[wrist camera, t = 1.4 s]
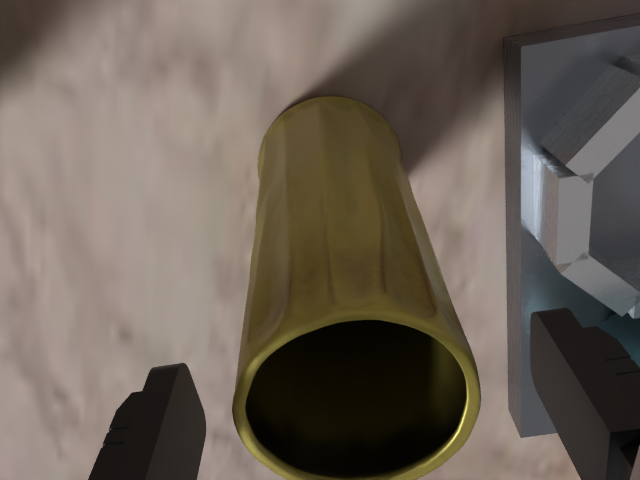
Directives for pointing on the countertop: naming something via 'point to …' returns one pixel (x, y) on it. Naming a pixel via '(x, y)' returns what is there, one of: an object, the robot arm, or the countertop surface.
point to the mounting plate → (571, 190)
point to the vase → (347, 310)
